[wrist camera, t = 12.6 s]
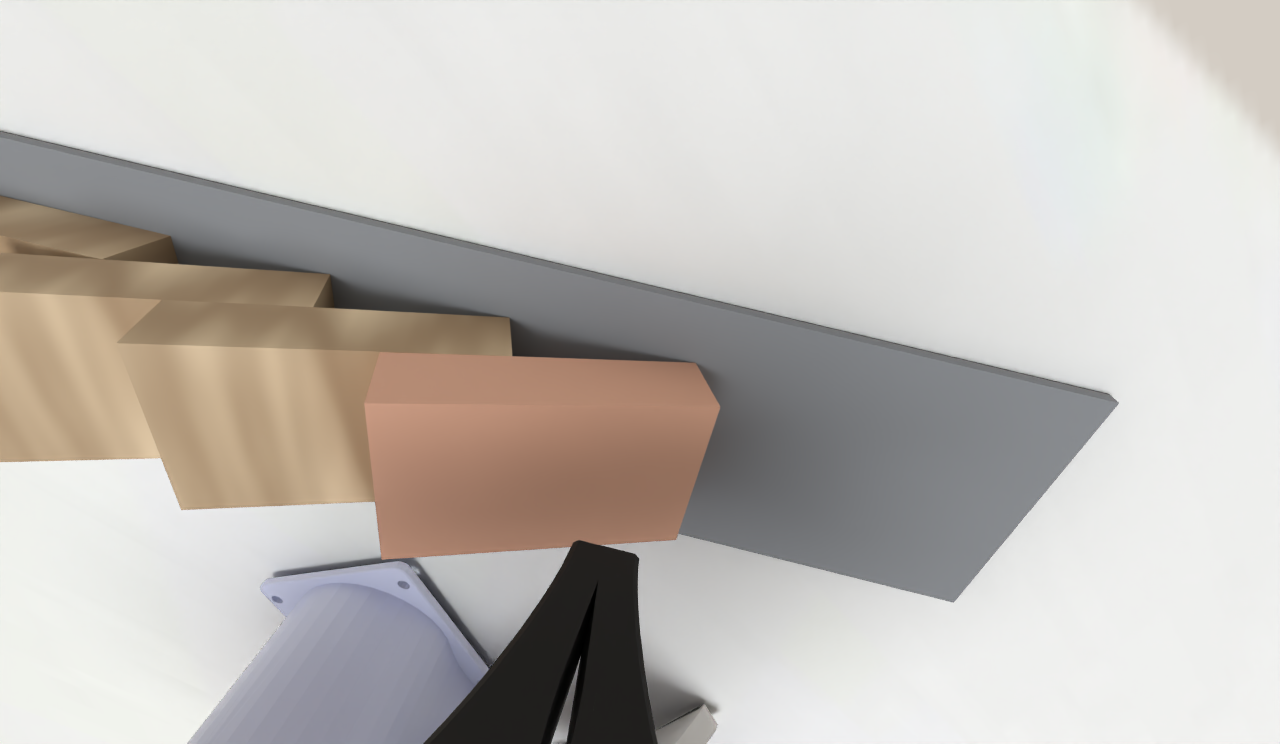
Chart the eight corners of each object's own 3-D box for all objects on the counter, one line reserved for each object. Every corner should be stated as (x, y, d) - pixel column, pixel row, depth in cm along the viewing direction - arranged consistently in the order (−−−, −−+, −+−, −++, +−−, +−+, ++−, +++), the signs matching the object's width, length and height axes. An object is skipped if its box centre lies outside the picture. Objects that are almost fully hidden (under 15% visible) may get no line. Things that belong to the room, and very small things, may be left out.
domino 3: (512, 355, 13) (116, 343, 11) (503, 495, 16) (181, 509, 14) (509, 317, 15) (162, 299, 13) (501, 450, 18) (212, 456, 15)
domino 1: (101, 259, 14) (-197, 188, 14) (158, 413, 16) (-91, 353, 16) (170, 235, 15) (-95, 173, 15) (212, 379, 18) (-15, 324, 18)
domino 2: (312, 307, 14) (-124, 285, 11) (336, 453, 16) (-12, 462, 14) (330, 274, 15) (-49, 249, 13) (348, 412, 18) (38, 414, 15)
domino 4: (720, 407, 13) (364, 403, 11) (676, 539, 16) (381, 559, 14) (695, 362, 15) (380, 351, 13) (658, 490, 18) (393, 500, 15)
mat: (1109, 394, 14) (1118, 402, 14) (949, 592, 18) (953, 602, 18) (-90, 110, 15) (-110, 111, 15) (36, 364, 19) (23, 369, 19)
